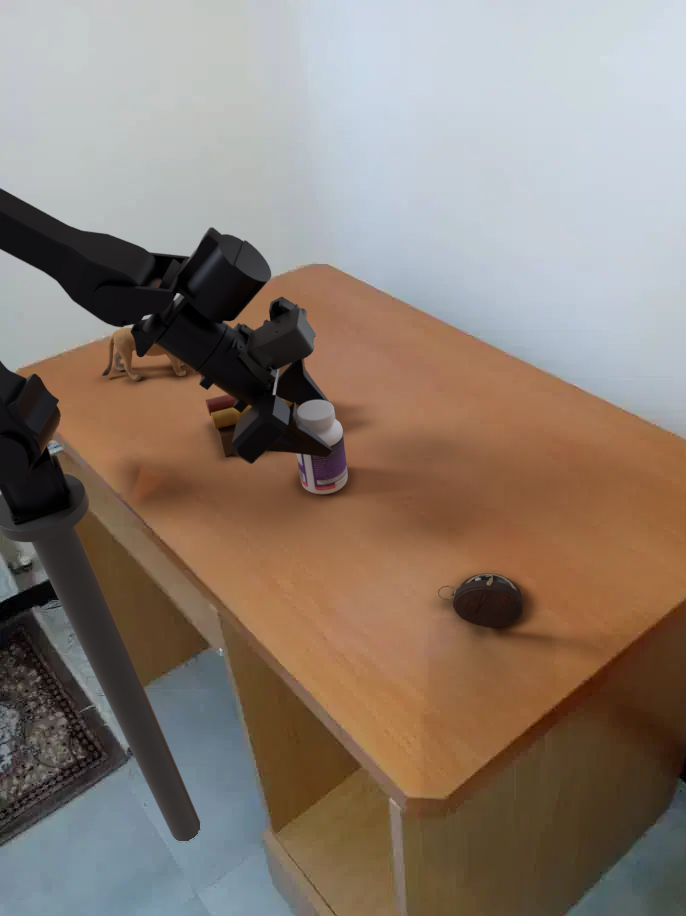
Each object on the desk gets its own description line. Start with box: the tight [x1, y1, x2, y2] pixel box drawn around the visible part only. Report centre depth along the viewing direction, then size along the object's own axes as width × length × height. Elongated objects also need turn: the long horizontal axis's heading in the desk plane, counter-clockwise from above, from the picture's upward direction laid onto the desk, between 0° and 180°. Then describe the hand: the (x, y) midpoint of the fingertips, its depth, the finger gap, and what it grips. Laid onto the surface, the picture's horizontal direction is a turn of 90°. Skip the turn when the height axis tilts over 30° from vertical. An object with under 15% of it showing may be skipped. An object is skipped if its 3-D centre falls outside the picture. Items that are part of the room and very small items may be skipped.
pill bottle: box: [295, 400, 349, 495], centre depth 87 cm, size 5×5×10 cm
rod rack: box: [205, 394, 299, 458], centre depth 97 cm, size 13×7×5 cm, turn 111°
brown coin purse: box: [437, 572, 524, 628], centre depth 73 cm, size 8×8×7 cm
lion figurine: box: [101, 327, 187, 382], centre depth 107 cm, size 15×5×9 cm, turn 103°
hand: (331, 432), depth 86 cm, fingers open, 7 cm apart
